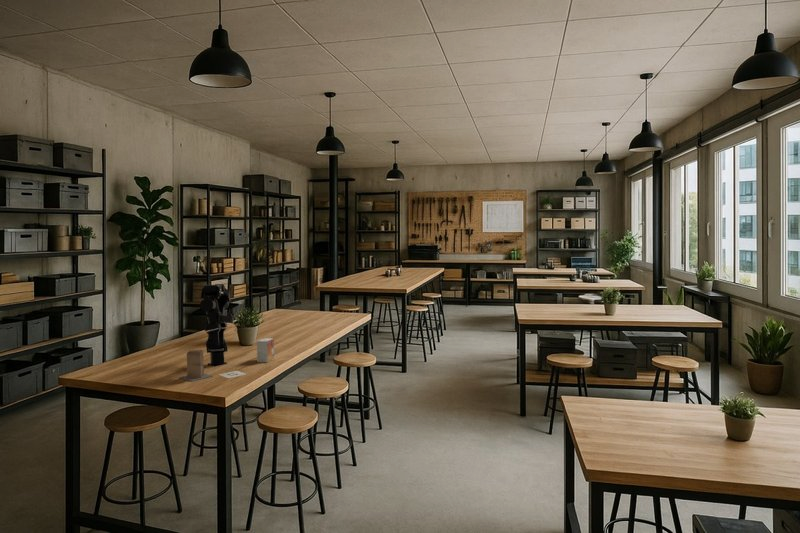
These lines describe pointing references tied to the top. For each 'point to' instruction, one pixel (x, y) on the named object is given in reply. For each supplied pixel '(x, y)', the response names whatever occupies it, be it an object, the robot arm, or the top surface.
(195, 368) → the walnut block
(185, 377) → the rubber mat
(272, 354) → the small box
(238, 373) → the card
